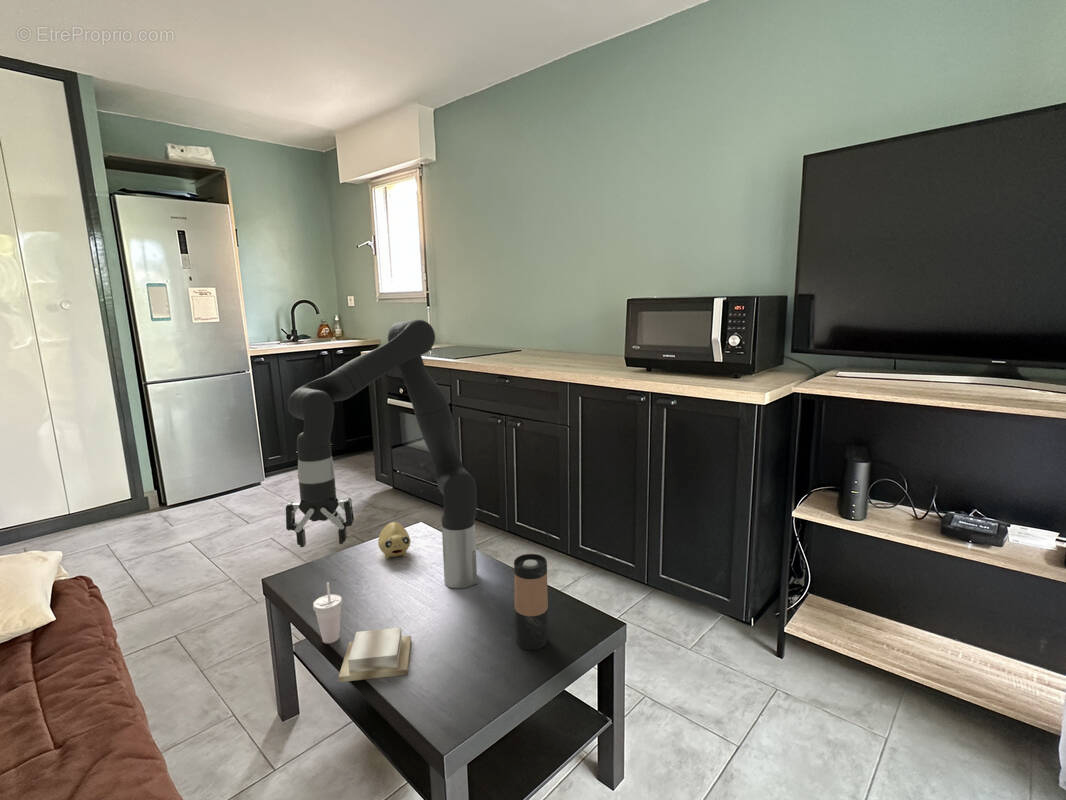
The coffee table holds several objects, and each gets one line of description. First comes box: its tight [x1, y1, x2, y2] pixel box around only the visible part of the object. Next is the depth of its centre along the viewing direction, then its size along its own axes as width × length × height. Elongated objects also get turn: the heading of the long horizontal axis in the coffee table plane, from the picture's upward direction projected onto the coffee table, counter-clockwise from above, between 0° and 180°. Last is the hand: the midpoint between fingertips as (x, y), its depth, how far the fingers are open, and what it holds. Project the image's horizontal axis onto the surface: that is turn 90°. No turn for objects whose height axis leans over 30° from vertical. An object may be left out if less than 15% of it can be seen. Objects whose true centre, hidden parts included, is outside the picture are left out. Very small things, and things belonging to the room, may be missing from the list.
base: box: [338, 627, 412, 683], centre depth 119 cm, size 14×12×4 cm
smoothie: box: [312, 581, 343, 644], centre depth 126 cm, size 6×6×14 cm
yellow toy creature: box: [377, 521, 411, 559], centre depth 167 cm, size 10×12×11 cm
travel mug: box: [513, 553, 549, 651], centre depth 123 cm, size 8×8×20 cm
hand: (322, 544), depth 123 cm, fingers open, 8 cm apart
